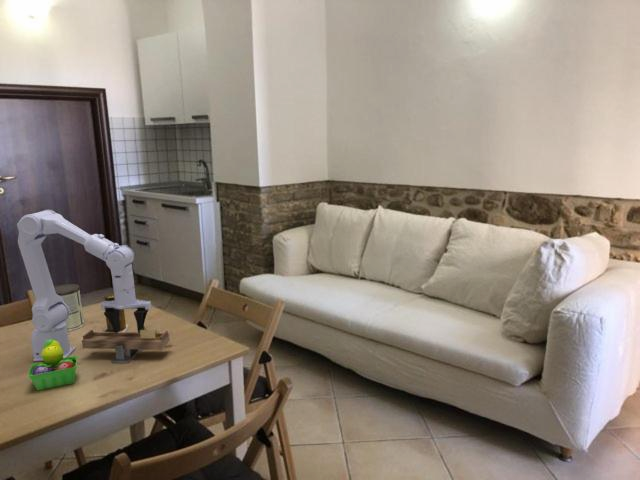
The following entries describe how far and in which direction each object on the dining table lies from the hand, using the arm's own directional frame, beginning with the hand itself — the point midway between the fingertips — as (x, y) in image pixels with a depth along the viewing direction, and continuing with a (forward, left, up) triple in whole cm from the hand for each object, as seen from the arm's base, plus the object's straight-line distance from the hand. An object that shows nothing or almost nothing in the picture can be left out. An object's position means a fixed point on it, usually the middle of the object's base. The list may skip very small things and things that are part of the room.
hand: (129, 331), depth 149 cm
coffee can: (-29, +28, -8) cm, 41 cm away
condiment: (-11, +22, -8) cm, 26 cm away
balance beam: (-1, 0, -4) cm, 4 cm away
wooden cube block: (+6, -1, -3) cm, 7 cm away
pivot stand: (-1, 0, -8) cm, 8 cm away
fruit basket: (-16, -14, -8) cm, 23 cm away
